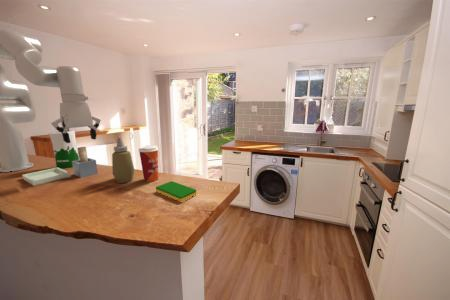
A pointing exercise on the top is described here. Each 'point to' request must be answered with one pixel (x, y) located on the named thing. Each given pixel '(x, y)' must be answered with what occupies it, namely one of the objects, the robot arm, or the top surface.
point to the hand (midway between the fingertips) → (81, 140)
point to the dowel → (82, 154)
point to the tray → (46, 176)
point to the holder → (84, 168)
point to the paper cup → (149, 162)
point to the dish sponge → (176, 191)
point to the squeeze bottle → (122, 163)
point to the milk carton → (64, 149)
